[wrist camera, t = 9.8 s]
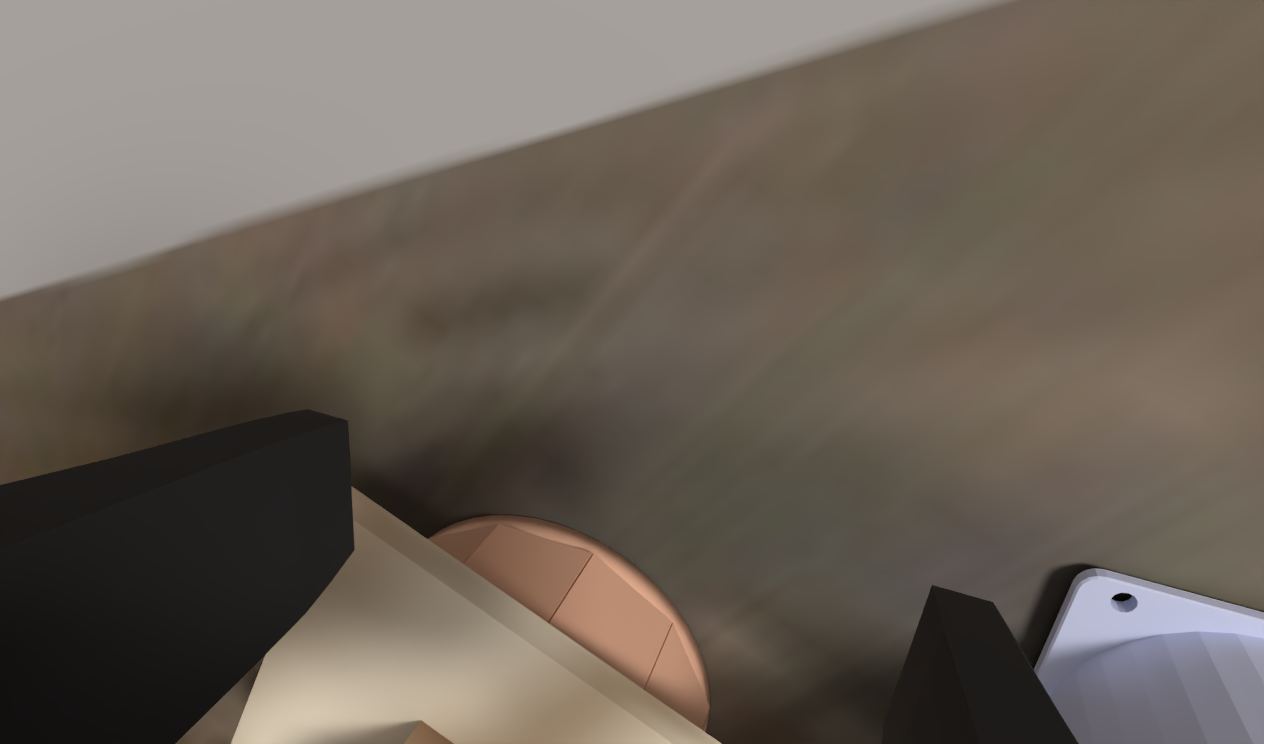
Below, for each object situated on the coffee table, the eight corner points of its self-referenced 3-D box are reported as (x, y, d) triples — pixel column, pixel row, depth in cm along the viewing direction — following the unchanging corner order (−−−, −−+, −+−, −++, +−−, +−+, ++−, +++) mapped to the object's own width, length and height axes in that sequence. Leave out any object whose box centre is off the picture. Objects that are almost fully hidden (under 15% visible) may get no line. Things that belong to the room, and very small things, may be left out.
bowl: (739, 579, 21) (698, 699, 17) (683, 839, 26) (640, 981, 22) (394, 473, 24) (292, 556, 20) (398, 725, 29) (315, 833, 25)
